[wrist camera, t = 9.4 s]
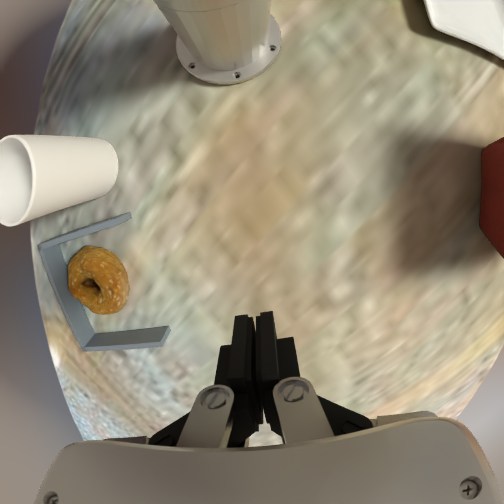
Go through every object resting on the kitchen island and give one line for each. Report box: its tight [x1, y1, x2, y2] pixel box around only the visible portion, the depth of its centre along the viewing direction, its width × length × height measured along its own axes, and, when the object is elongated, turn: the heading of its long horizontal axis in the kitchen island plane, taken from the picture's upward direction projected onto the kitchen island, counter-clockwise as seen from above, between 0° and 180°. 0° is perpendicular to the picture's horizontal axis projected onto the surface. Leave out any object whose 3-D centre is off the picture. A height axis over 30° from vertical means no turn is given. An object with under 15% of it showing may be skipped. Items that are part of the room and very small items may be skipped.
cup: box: [0, 135, 118, 226], centre depth 24 cm, size 8×8×16 cm
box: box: [38, 212, 170, 351], centre depth 35 cm, size 18×15×4 cm
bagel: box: [68, 246, 130, 315], centre depth 35 cm, size 10×11×5 cm
